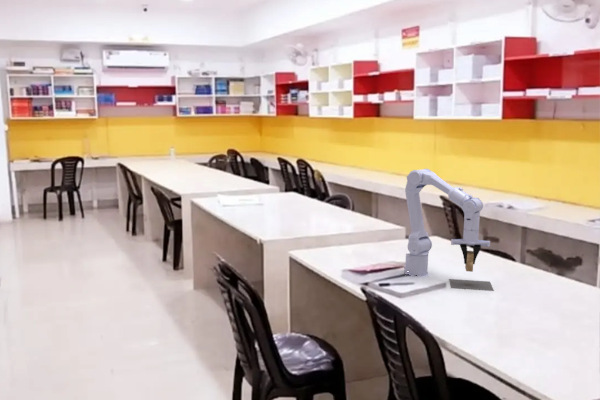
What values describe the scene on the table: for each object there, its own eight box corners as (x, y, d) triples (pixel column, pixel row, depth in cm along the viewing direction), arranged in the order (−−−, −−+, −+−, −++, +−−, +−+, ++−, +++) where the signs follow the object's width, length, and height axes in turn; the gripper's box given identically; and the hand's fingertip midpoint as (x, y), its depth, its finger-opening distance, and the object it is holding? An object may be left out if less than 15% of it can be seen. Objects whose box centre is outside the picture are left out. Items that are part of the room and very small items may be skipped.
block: (466, 271, 235) (467, 253, 234) (465, 267, 240) (466, 250, 239) (472, 271, 235) (473, 254, 234) (471, 268, 240) (472, 250, 239)
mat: (450, 289, 233) (450, 288, 233) (448, 279, 246) (448, 278, 246) (494, 291, 231) (494, 290, 231) (489, 282, 243) (489, 281, 243)
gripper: (452, 230, 233) (450, 264, 235) (492, 232, 230) (489, 267, 232) (451, 227, 240) (449, 260, 241) (489, 228, 237) (487, 262, 239)
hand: (469, 263), depth 237 cm, fingers closed on block, 2 cm apart
